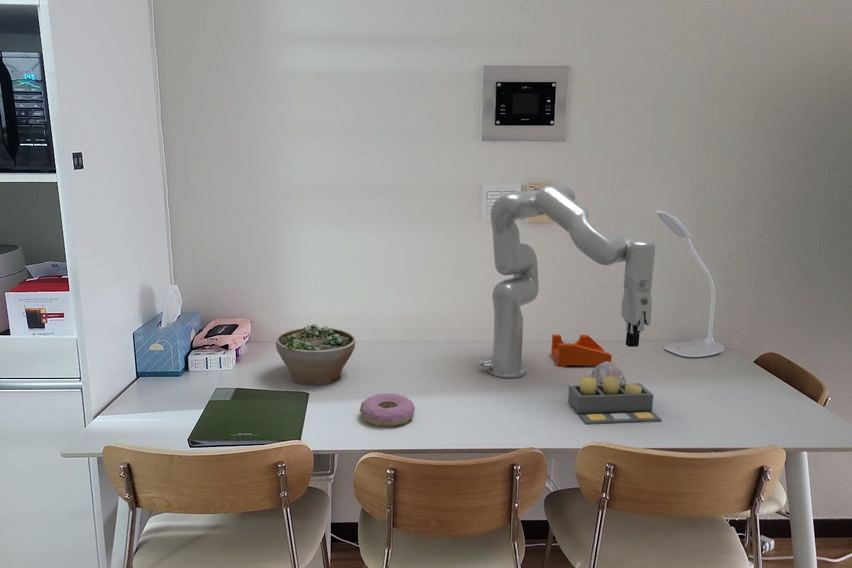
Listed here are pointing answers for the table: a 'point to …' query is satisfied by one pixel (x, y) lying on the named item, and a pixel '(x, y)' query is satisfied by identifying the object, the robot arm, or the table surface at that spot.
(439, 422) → the table surface
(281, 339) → the planter
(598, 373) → the stone
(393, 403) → the donut
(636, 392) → the button right
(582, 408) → the grey compartment tray
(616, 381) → the button mid
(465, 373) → the table surface
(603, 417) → the strip
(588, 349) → the tape dispenser
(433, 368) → the table surface
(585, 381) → the button left
